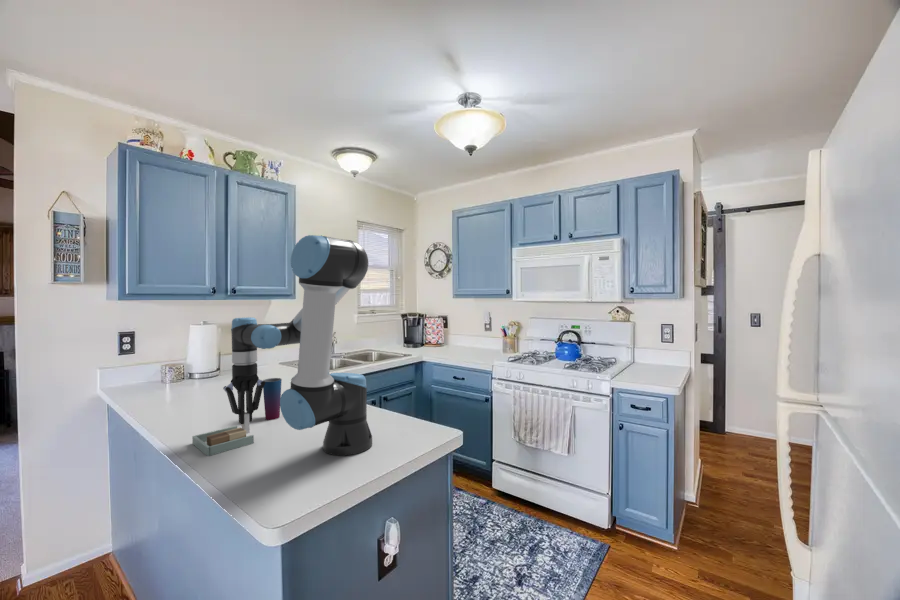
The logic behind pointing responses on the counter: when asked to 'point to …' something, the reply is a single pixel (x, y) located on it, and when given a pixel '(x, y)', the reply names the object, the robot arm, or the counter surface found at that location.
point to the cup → (272, 398)
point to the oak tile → (236, 433)
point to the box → (210, 450)
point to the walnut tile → (217, 438)
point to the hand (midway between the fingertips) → (245, 432)
